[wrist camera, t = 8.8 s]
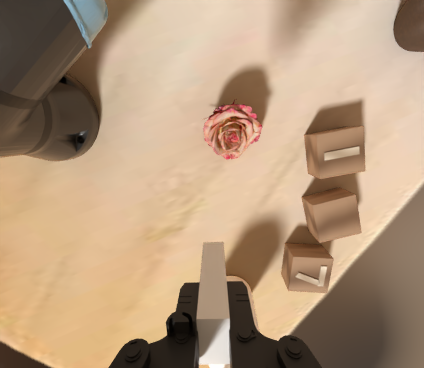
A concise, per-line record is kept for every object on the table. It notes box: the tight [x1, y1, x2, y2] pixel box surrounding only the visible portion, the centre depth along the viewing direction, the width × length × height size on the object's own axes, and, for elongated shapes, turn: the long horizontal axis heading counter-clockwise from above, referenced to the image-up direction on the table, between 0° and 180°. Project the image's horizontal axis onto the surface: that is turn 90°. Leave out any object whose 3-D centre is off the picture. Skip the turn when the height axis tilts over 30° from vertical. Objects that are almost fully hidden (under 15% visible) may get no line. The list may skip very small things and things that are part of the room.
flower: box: [203, 99, 262, 159], centre depth 35 cm, size 10×9×8 cm
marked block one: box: [304, 126, 365, 179], centre depth 36 cm, size 7×7×5 cm
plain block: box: [302, 187, 362, 243], centre depth 38 cm, size 7×7×5 cm
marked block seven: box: [281, 243, 334, 293], centre depth 41 cm, size 7×7×5 cm
